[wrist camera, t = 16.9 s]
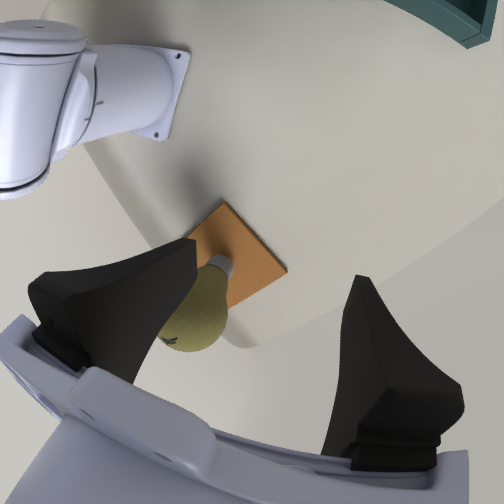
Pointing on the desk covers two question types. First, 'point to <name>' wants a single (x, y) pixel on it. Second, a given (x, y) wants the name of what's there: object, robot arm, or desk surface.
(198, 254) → the mat
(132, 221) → the desk surface
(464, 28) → the box
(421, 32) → the desk surface
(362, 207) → the desk surface
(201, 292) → the light bulb
